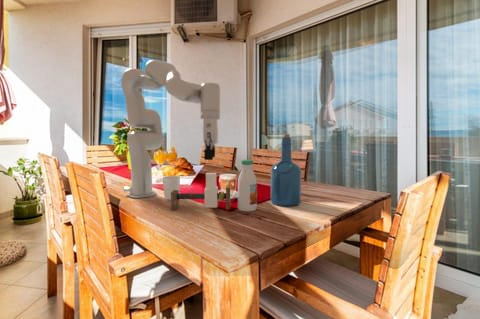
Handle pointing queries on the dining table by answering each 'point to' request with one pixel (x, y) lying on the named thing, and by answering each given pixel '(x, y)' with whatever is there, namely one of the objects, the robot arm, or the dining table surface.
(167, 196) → the white cup
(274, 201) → the wine bottle
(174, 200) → the cord rail
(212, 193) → the marker sleeve
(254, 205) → the milk bottle
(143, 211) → the dining table surface
